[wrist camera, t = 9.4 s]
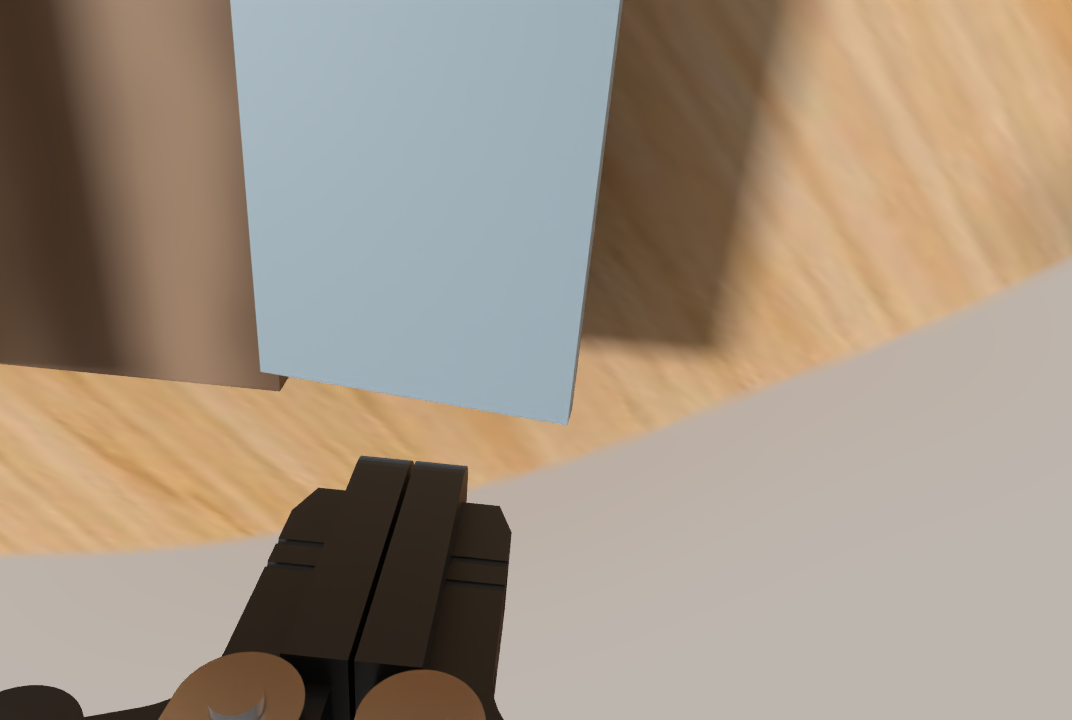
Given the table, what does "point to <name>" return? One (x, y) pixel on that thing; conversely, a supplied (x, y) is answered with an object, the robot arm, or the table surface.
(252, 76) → the light blue flat panel
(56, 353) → the brown wooden l-shaped piece
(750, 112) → the table surface
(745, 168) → the table surface
